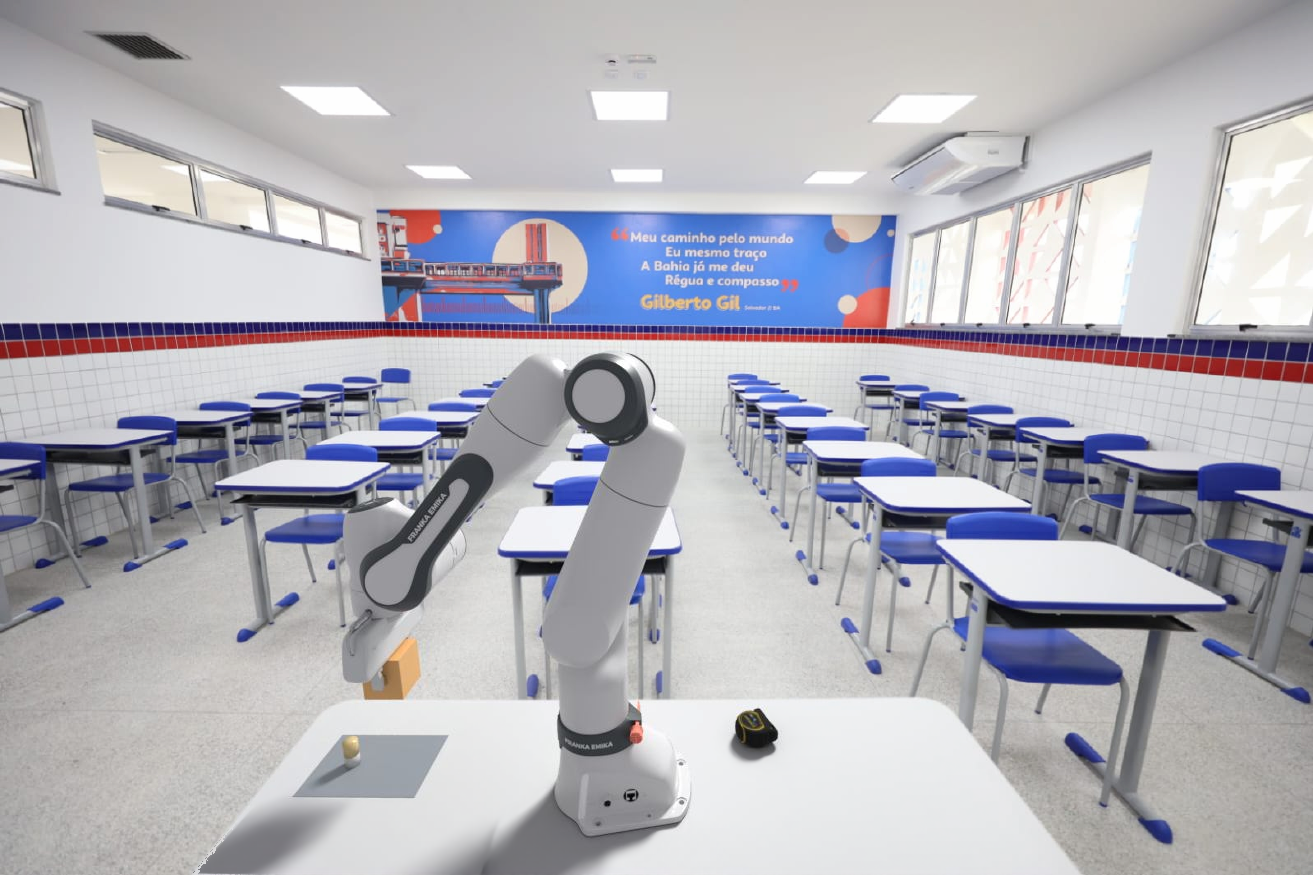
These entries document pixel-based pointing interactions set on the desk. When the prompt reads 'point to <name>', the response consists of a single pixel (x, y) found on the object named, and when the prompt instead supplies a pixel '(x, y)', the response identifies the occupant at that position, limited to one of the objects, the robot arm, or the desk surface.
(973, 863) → the desk surface
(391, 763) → the plate
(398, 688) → the amber rectangular brick
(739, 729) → the tape measure
